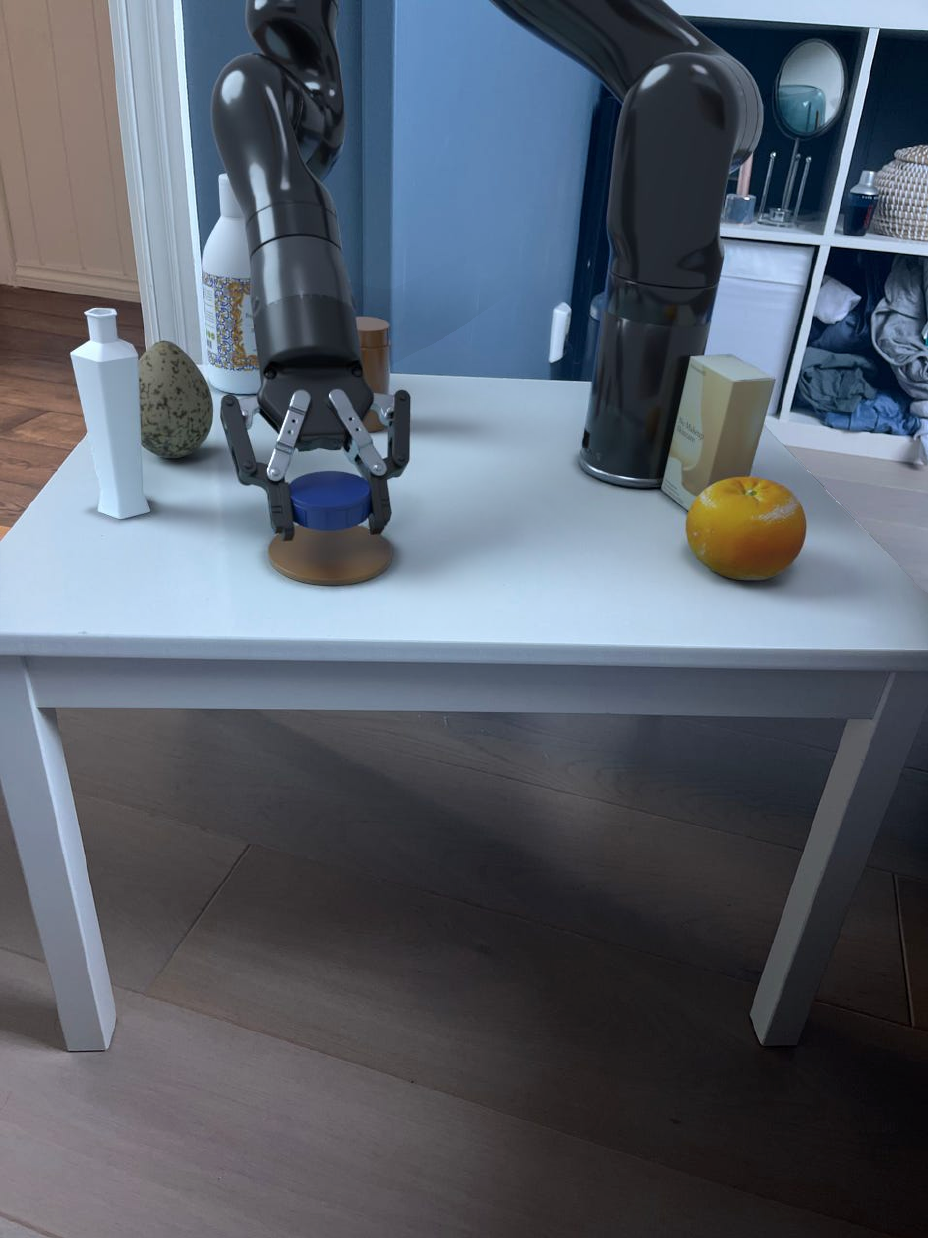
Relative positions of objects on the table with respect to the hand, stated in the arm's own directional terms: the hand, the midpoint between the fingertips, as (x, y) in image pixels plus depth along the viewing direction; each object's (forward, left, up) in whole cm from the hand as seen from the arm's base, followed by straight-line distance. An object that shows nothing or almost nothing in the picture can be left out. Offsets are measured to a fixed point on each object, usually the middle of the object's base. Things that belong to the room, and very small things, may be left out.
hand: (333, 533), depth 69 cm
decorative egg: (+10, -22, -3) cm, 24 cm away
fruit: (-30, +5, -3) cm, 31 cm away
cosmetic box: (-33, -6, -3) cm, 34 cm away
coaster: (0, -2, -3) cm, 3 cm away
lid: (0, -2, +2) cm, 3 cm away
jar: (-8, -28, -3) cm, 29 cm away
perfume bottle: (+14, -12, -3) cm, 18 cm away
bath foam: (+2, -40, -3) cm, 40 cm away
